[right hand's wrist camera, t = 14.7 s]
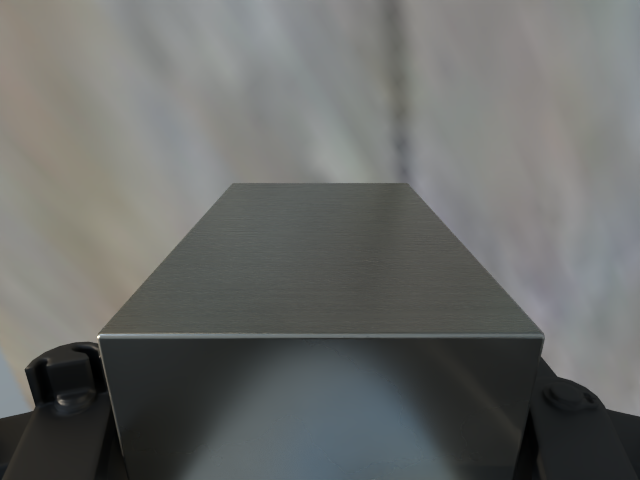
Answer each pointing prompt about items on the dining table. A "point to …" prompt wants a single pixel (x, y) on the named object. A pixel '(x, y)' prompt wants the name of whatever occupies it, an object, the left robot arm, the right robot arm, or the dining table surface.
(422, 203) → the box
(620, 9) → the dining table surface
